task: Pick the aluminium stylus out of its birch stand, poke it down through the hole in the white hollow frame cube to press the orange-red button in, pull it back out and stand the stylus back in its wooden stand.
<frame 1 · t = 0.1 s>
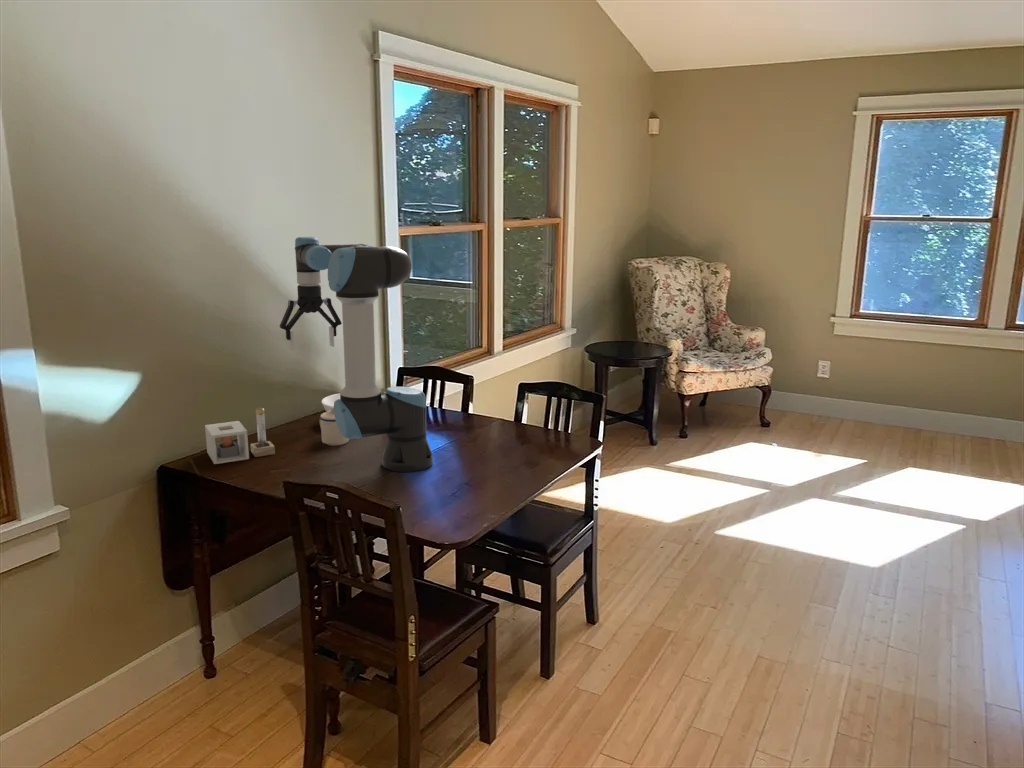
hand: (312, 347, 265), 28 cm above the table, fingers open, 13 cm apart
teacup with lid: (332, 441, 258), on the table
bowl: (352, 422, 279), on the table
stylus stand: (263, 454, 244), on the table
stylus: (262, 452, 244), point 1 cm above the table, touching stylus stand
button: (226, 439, 239), point 6 cm above the table, slide at 0.0 cm
white hollow frame cube: (228, 457, 241), on the table
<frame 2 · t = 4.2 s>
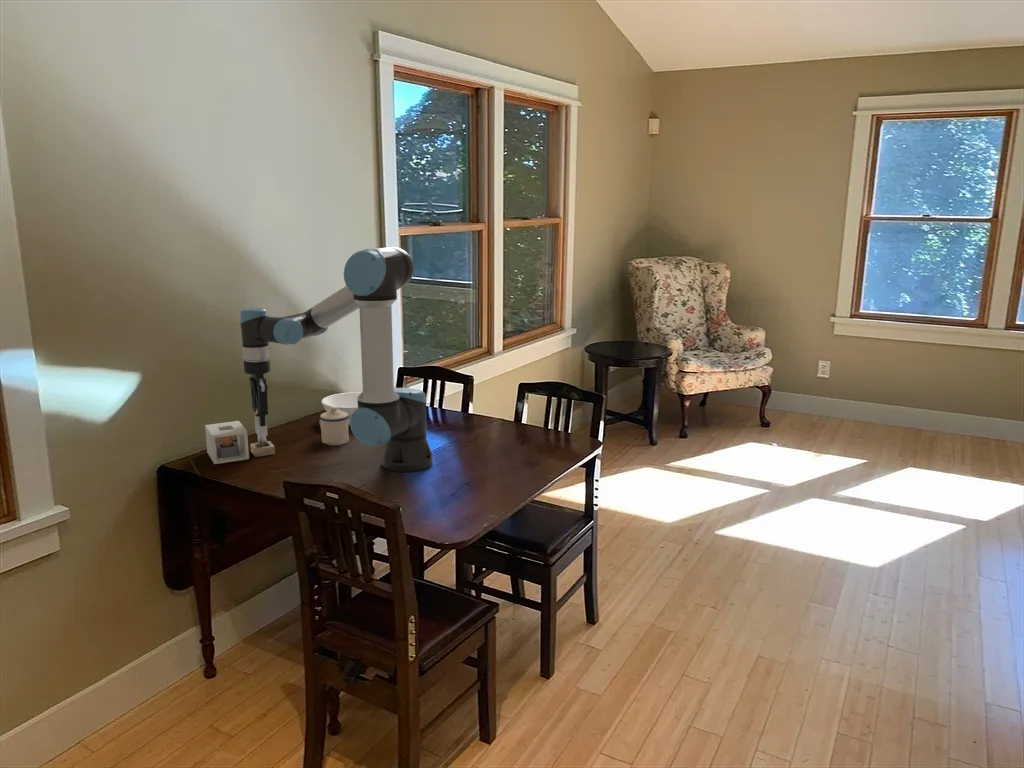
hand: (261, 434, 242), 7 cm above the table, fingers closed on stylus, 2 cm apart
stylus: (262, 452, 244), point 1 cm above the table, touching gripper
everything else where it was.
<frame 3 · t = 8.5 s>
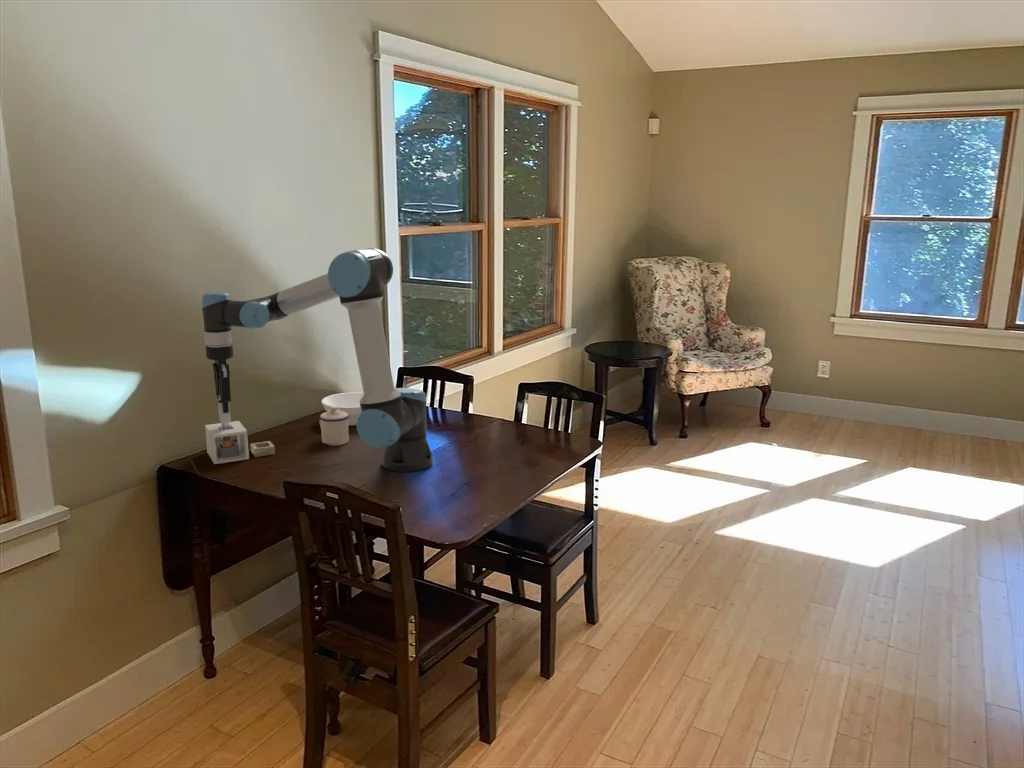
hand: (225, 421, 238), 12 cm above the table, fingers closed on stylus, 2 cm apart
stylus: (226, 439, 239), point 6 cm above the table, touching button, gripper
button: (227, 446, 240), point 4 cm above the table, slide at 2.2 cm, touching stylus
everything else where it was.
when the fingers open (8 cm above the table, at t = 15.0 s): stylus drops 1 cm, resting on stylus stand.
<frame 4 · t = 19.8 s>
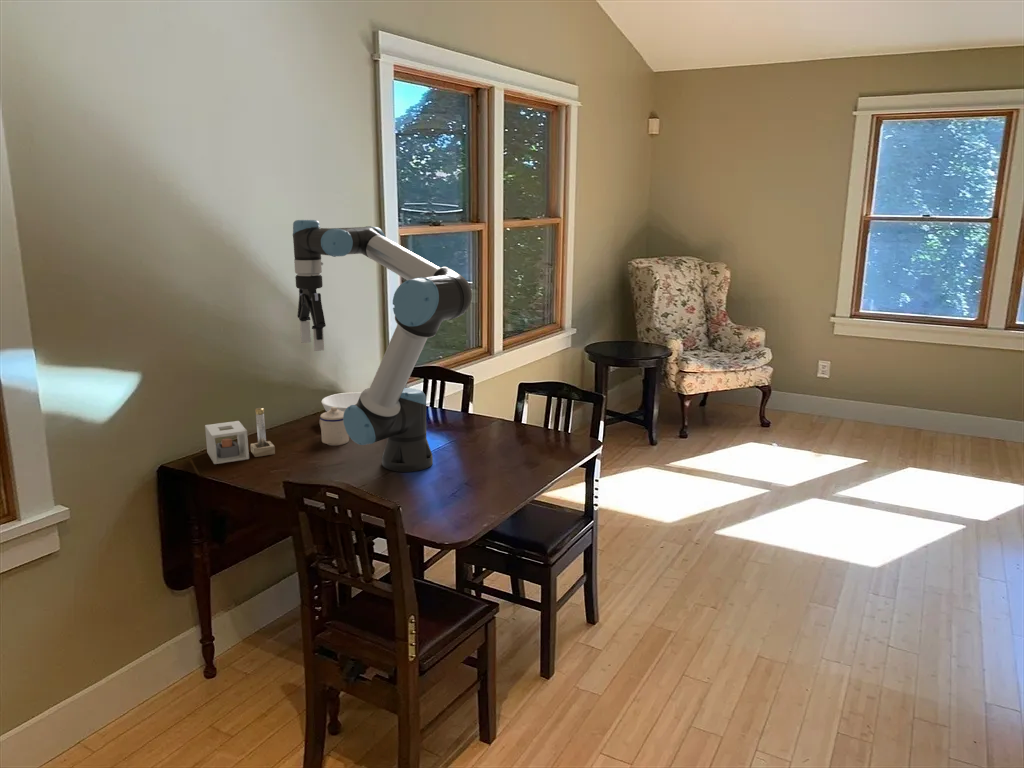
hand: (312, 346, 233), 35 cm above the table, fingers open, 13 cm apart
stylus: (262, 452, 244), point 1 cm above the table, touching stylus stand
button: (227, 446, 240), point 4 cm above the table, slide at 2.2 cm
everything else where it was.
at the end: button slide at 2.2 cm; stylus 0.0 cm off-centre on the stylus stand, point 0.6 cm above the stylus stand's base; the gripper is holding nothing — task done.
